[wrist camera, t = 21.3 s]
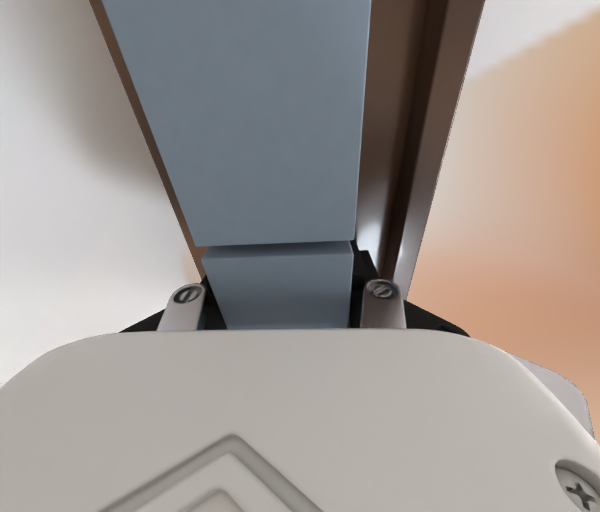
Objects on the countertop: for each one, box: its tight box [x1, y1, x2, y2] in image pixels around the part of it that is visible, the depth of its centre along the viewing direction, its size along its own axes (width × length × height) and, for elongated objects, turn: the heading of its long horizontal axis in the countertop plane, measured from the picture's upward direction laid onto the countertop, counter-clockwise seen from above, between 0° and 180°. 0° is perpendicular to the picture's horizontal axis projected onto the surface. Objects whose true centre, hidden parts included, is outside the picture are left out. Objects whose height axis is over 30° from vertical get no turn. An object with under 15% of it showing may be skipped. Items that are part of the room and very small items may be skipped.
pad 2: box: [201, 240, 354, 330], centre depth 10 cm, size 6×5×5 cm
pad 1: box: [102, 0, 371, 247], centre depth 7 cm, size 6×5×5 cm
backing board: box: [89, 0, 485, 300], centre depth 10 cm, size 18×12×2 cm, turn 4°
